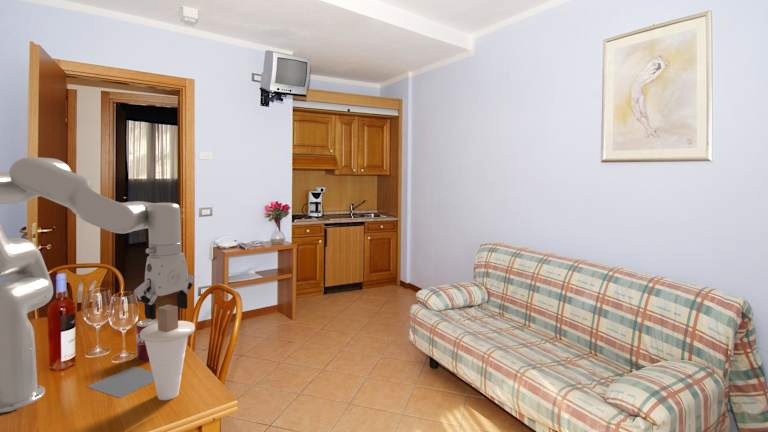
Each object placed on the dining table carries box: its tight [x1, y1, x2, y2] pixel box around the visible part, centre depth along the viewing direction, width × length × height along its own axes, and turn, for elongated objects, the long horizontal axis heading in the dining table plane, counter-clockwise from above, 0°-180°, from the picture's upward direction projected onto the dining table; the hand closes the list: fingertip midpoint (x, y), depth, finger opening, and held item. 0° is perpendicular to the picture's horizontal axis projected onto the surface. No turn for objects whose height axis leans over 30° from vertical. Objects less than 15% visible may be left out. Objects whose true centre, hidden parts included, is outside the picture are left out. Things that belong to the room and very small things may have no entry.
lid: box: [140, 304, 196, 342], centre depth 112 cm, size 13×13×7 cm
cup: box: [145, 336, 189, 401], centre depth 113 cm, size 11×11×18 cm
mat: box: [86, 366, 155, 399], centre depth 121 cm, size 14×14×1 cm
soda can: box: [135, 318, 158, 362], centre depth 137 cm, size 7×7×12 cm
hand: (167, 313), depth 112 cm, fingers open, 9 cm apart
